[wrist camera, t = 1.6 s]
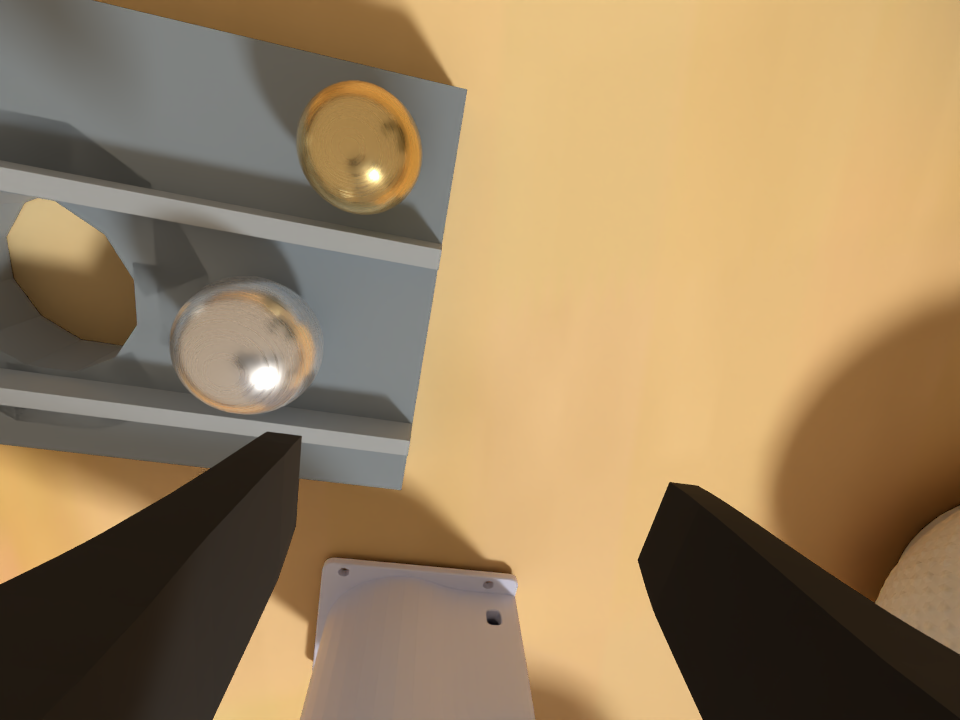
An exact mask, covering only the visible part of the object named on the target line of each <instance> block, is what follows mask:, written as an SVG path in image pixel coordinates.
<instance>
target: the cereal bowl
mask: <svg viewBox="0 0 960 720" xmlns="http://www.w3.org/2000/svg"><path fill="white" fill-rule="evenodd" d="M875 604H877V605H878V606H880V607H882V608H883V609H885V610H886V611H888V612H889V613H891V614H893V615H894V616H896V617H897V618H899V619H901V620H902V621H904V622H906V623H907V624H909V625H911V626H912V627H914V628H915V629H917V630H919V631H921V632H922V633H924V634H926V635H927V636H929V637H931V638H933V639H934V640H936V641H938V642H939V643H941V644H943V645H945V646H946V647H948V648H950V649H951V650H953V651H955V652H957V653H958V654H960V505H959V506H957V507H955V508H953V509H951V510H949V511H947V512H945V513H944V514H942V515H940V516H939V517H937V518H936V519H935V520H933V521H932V522H931V523H929V524H928V525H927V526H926V527H924V528H923V529H922V530H921V531H920V532H919V533H918V534H917V535H916V536H915V537H914V538H913V539H912V541H911V542H910V543H909V545H908V546H907V547H906V549H905V550H904V552H903V554H902V555H901V557H900V560H899V562H898V564H897V565H896V566H895V567H894V568H893V570H892V571H891V572H890V575H889V576H888V578H887V579H886V580H885V583H884V585H883V587H882V588H881V590H880V593H879V597H878V598H877V600H876V602H875Z"/></svg>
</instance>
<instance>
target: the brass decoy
mask: <svg viewBox="0 0 960 720" xmlns="http://www.w3.org/2000/svg"><path fill="white" fill-rule="evenodd" d="M296 149H297V155H298V159H299V163H300V166H301V168H302V171H303V173H304V175H305V177H306V179H307V180H308V182H309V183H310V185H311V186H312V187H313V189H314V190H315V191H316V192H317V193H318V194H319V195H320V196H321V197H322V198H323V199H324V200H326V201H327V202H329V203H330V204H331V205H333V206H335V207H337V208H338V209H341V210H343V211H346V212H349V213H353V214H360V215H371V214H377V213H381V212H385V211H387V210H389V209H392V208H393V207H395V206H397V205H398V204H400V203H401V202H402V201H403V200H404V199H405V198H406V197H407V196H408V195H409V194H410V192H411V191H412V189H413V188H414V186H415V184H416V182H417V180H418V177H419V174H420V171H421V166H422V156H423V155H422V143H421V137H420V134H419V130H418V128H417V125H416V123H415V121H414V119H413V117H412V116H411V114H410V112H409V111H408V110H407V108H406V107H405V106H404V105H403V104H402V102H401V101H400V100H399V99H397V98H396V97H395V96H394V95H393V94H391V93H390V92H388V91H387V90H385V89H384V88H382V87H379V86H377V85H375V84H372V83H369V82H364V81H358V80H349V81H341V82H338V83H335V84H332V85H330V86H327V87H325V88H324V89H322V90H321V91H319V92H318V93H317V94H316V95H315V96H314V97H312V98H311V100H310V101H309V102H308V104H307V105H306V107H305V108H304V110H303V112H302V114H301V117H300V119H299V123H298V127H297V133H296Z"/></svg>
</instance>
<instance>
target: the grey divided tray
mask: <svg viewBox="0 0 960 720" xmlns="http://www.w3.org/2000/svg"><path fill="white" fill-rule="evenodd" d="M349 80H358V81H364V82H369V83H372V84H375V85H377V86H379V87H382V88H384V89H385V90H387V91H388V92H390V93H391V94H393V95H394V96H395V97H396V98H397V99H399V100H400V101H401V102H402V104H403V105H404V106H405V107H406V108H407V110H408V111H409V112H410V114H411V116H412V117H413V119H414V121H415V123H416V125H417V128H418V130H419V134H420V137H421V143H422V155H423V156H422V166H421V171H420V174H419V177H418V180H417V182H416V184H415V186H414V188H413V189H412V191H411V192H410V194H409V195H408V196H407V197H406V198H405V199H404V200H403V201H402V202H401V203H400V204H398V205H397V206H395V207H393V208H392V209H389V210H387V211H385V212H381V213H377V214H371V215H360V214H353V213H349V212H346V211H343V210H341V209H338V208H337V207H335V206H333V205H331V204H330V203H329V202H327V201H326V200H324V199H323V198H322V197H321V196H320V195H319V194H318V193H317V192H316V191H315V190H314V189H313V187H312V186H311V185H310V183H309V182H308V180H307V179H306V177H305V175H304V173H303V171H302V168H301V166H300V163H299V159H298V155H297V149H296V133H297V127H298V123H299V119H300V117H301V114H302V112H303V110H304V108H305V107H306V105H307V104H308V102H309V101H310V100H311V98H312V97H314V96H315V95H316V94H317V93H318V92H319V91H321V90H322V89H324V88H325V87H327V86H330V85H332V84H335V83H338V82H341V81H349ZM466 94H467V89H462V88H458V87H454V86H450V85H446V84H441V83H437V82H433V81H429V80H425V79H420V78H416V77H412V76H408V75H404V74H399V73H395V72H391V71H387V70H383V69H379V68H374V67H370V66H366V65H362V64H358V63H353V62H349V61H345V60H341V59H337V58H332V57H328V56H324V55H320V54H316V53H311V52H307V51H303V50H299V49H295V48H290V47H286V46H282V45H278V44H274V43H269V42H265V41H261V40H257V39H253V38H248V37H244V36H240V35H236V34H232V33H227V32H223V31H219V30H215V29H211V28H207V27H202V26H198V25H194V24H190V23H186V22H181V21H177V20H173V19H169V18H165V17H160V16H156V15H152V14H148V13H144V12H139V11H135V10H131V9H127V8H123V7H118V6H114V5H110V4H106V3H102V2H97V1H93V0H0V444H3V445H12V446H21V447H30V448H38V449H47V450H56V451H64V452H73V453H82V454H91V455H99V456H108V457H117V458H125V459H134V460H143V461H152V462H160V463H169V464H178V465H187V466H195V467H204V468H212V467H213V466H215V465H216V464H218V463H219V462H221V461H222V460H224V459H225V458H227V457H228V456H230V455H231V454H233V453H234V452H236V451H237V450H239V449H240V448H242V447H244V446H245V445H247V444H248V443H250V442H251V441H253V440H254V439H256V438H257V437H259V436H260V435H262V434H264V433H265V432H267V431H268V432H276V433H284V434H292V435H300V436H302V442H301V457H300V472H299V478H300V479H309V480H317V481H326V482H335V483H343V484H352V485H361V486H370V487H378V488H387V489H396V490H401V489H402V483H403V476H404V470H405V464H406V458H407V456H408V450H409V444H410V437H411V429H412V422H413V416H414V410H415V404H416V398H417V391H418V385H419V379H420V373H421V367H422V361H423V355H424V349H425V343H426V337H427V331H428V325H429V319H430V312H431V306H432V300H433V294H434V288H435V282H436V276H437V270H438V269H439V263H440V257H441V251H442V240H443V233H444V227H445V221H446V215H447V209H448V203H449V197H450V191H451V185H452V179H453V173H454V167H455V161H456V154H457V148H458V142H459V136H460V130H461V124H462V118H463V112H464V106H465V100H466ZM36 198H42V199H48V200H53V201H56V202H57V203H59V204H60V205H62V206H63V207H65V208H66V209H68V210H69V211H71V212H72V213H74V214H75V215H77V216H78V217H79V218H81V219H82V220H84V221H85V222H87V223H88V224H90V225H91V226H93V227H94V228H96V229H97V230H99V231H100V232H102V233H103V234H105V236H106V237H107V239H108V241H109V242H110V244H111V245H112V247H113V248H114V250H115V251H116V253H117V255H118V256H119V258H120V259H121V261H122V262H123V264H124V265H125V267H126V269H127V270H128V272H129V273H130V275H131V276H132V278H133V279H134V287H135V301H136V315H137V326H136V327H135V329H134V330H133V332H132V333H131V335H130V336H129V338H128V339H127V341H126V342H125V344H124V345H123V346H121V345H114V344H108V343H101V342H94V341H87V340H81V339H79V338H78V337H76V336H74V335H73V334H71V333H69V332H68V331H66V330H64V329H63V328H61V327H59V326H58V325H56V324H54V323H53V322H51V321H49V320H48V319H46V318H44V317H43V316H41V315H40V314H39V312H38V311H37V310H36V308H35V307H34V305H33V304H32V303H31V301H30V300H29V299H28V297H27V296H26V295H25V293H24V292H23V291H22V289H21V288H20V287H19V285H18V284H17V283H16V281H15V280H14V279H13V274H12V268H11V262H10V256H9V249H8V243H7V237H6V236H7V235H8V233H9V231H10V229H11V227H12V225H13V223H14V222H15V220H16V218H17V216H18V214H19V212H20V210H21V208H22V207H23V205H24V203H25V202H28V201H30V200H33V199H36ZM236 276H255V277H262V278H266V279H270V280H272V281H275V282H278V283H280V284H282V285H284V286H286V287H288V288H290V289H291V290H293V291H294V292H296V293H297V294H298V295H299V296H301V297H302V298H303V299H304V300H305V301H306V302H307V303H308V305H309V306H310V307H311V309H312V310H313V312H314V313H315V315H316V317H317V319H318V322H319V324H320V327H321V330H322V334H323V341H324V350H323V358H322V362H321V366H320V369H319V371H318V373H317V375H316V377H315V379H314V380H313V382H312V383H311V385H310V386H309V387H308V388H307V389H306V390H305V392H304V393H303V394H302V395H300V396H299V397H298V398H297V399H295V400H294V401H292V402H291V403H289V404H287V405H286V406H283V407H281V408H279V409H276V410H273V411H270V412H266V413H260V414H248V415H244V414H234V413H229V412H225V411H222V410H219V409H216V408H214V407H211V406H209V405H207V404H205V403H204V402H202V401H201V400H199V399H198V398H196V397H195V396H194V395H193V394H192V393H191V392H190V391H189V390H188V389H187V388H186V387H185V386H184V385H183V383H182V382H181V381H180V379H179V377H178V375H177V374H176V372H175V369H174V367H173V364H172V361H171V357H170V351H169V340H170V332H171V327H172V325H173V322H174V319H175V317H176V315H177V313H178V311H179V310H180V308H181V307H182V306H183V305H184V303H185V302H186V301H187V300H188V299H189V298H190V297H191V296H192V295H193V294H194V293H195V292H197V291H198V290H200V289H202V288H203V287H205V286H206V285H208V284H211V283H213V282H215V281H218V280H222V279H225V278H229V277H236Z"/></svg>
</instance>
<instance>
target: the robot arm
mask: <svg viewBox="0 0 960 720" xmlns="http://www.w3.org/2000/svg"><path fill="white" fill-rule="evenodd" d="M301 442H302V436H300V435H292V434H284V433H276V432H268V431H267V432H265V433H264V434H262V435H260V436H259V437H257V438H256V439H254V440H253V441H251V442H250V443H248V444H247V445H245V446H244V447H242V448H240V449H239V450H237V451H236V452H234V453H233V454H231V455H230V456H228V457H227V458H225V459H224V460H222V461H221V462H219V463H218V464H216V465H215V466H213V467H212V468H210V469H209V470H207V471H206V472H204V473H202V474H201V475H199V476H198V477H196V478H195V479H193V480H191V481H190V482H188V483H187V484H185V485H183V486H182V487H180V488H179V489H177V490H176V491H174V492H172V493H171V494H169V495H167V496H166V497H164V498H162V499H160V500H159V501H157V502H155V503H153V504H152V505H150V506H148V507H147V508H145V509H143V510H141V511H140V512H138V513H136V514H134V515H133V516H131V517H129V518H128V519H126V520H124V521H122V522H121V523H119V524H117V525H115V526H114V527H112V528H110V529H108V530H107V531H105V532H103V533H101V534H99V535H98V536H96V537H94V538H92V539H90V540H88V541H86V542H85V543H83V544H81V545H79V546H77V547H75V548H73V549H71V550H69V551H67V552H65V553H63V554H61V555H59V556H58V557H55V558H53V559H51V560H49V561H47V562H45V563H43V564H41V565H39V566H37V567H35V568H33V569H31V570H29V571H27V572H25V573H23V574H21V575H19V576H17V577H15V578H13V579H11V580H8V581H6V582H4V583H2V584H0V720H213V718H214V715H215V713H216V711H217V709H218V707H219V705H220V703H221V701H222V698H223V696H224V694H225V692H226V690H227V688H228V686H229V683H230V681H231V679H232V677H233V675H234V673H235V671H236V668H237V666H238V664H239V662H240V660H241V658H242V656H243V654H244V651H245V649H246V647H247V645H248V643H249V641H250V639H251V636H252V634H253V632H254V630H255V628H256V626H257V624H258V621H259V619H260V617H261V615H262V613H263V611H264V608H265V606H266V604H267V602H268V600H269V598H270V596H271V593H272V591H273V589H274V587H275V585H276V582H277V580H278V578H279V575H280V572H281V569H282V566H283V563H284V560H285V557H286V554H287V551H288V548H289V545H290V542H291V539H292V536H293V533H294V530H295V527H296V516H297V501H298V487H299V472H300V457H301ZM638 563H639V566H640V569H641V573H642V576H643V580H644V583H645V587H646V590H647V593H648V596H649V599H650V602H651V605H652V608H653V611H654V613H655V616H656V618H657V620H658V623H659V625H660V627H661V629H662V632H663V634H664V636H665V638H666V640H667V643H668V645H669V647H670V649H671V652H672V654H673V656H674V658H675V660H676V663H677V665H678V667H679V669H680V671H681V673H682V676H683V678H684V680H685V682H686V684H687V686H688V689H689V691H690V693H691V695H692V697H693V699H694V702H695V704H696V706H697V708H698V710H699V713H700V715H701V717H702V719H703V720H960V654H958V653H957V652H955V651H953V650H951V649H950V648H948V647H946V646H945V645H943V644H941V643H939V642H938V641H936V640H934V639H933V638H931V637H929V636H927V635H926V634H924V633H922V632H921V631H919V630H917V629H915V628H914V627H912V626H911V625H909V624H907V623H906V622H904V621H902V620H901V619H899V618H897V617H896V616H894V615H893V614H891V613H889V612H888V611H886V610H885V609H883V608H882V607H880V606H878V605H877V604H875V603H874V602H872V601H871V600H869V599H868V598H866V597H864V596H863V595H861V594H860V593H858V592H857V591H855V590H854V589H852V588H851V587H849V586H847V585H846V584H844V583H843V582H841V581H840V580H838V579H837V578H835V577H834V576H832V575H831V574H829V573H828V572H826V571H825V570H823V569H822V568H820V567H819V566H817V565H816V564H814V563H813V562H812V561H810V560H809V559H807V558H806V557H804V556H803V555H801V554H800V553H798V552H797V551H796V550H794V549H793V548H791V547H790V546H788V545H787V544H785V543H784V542H783V541H781V540H780V539H778V538H777V537H775V536H774V535H772V534H771V533H770V532H768V531H767V530H765V529H764V528H762V527H761V526H759V525H758V524H757V523H755V522H754V521H752V520H751V519H749V518H748V517H746V516H745V515H743V514H742V513H741V512H739V511H738V510H736V509H735V508H733V507H732V506H730V505H729V504H727V503H726V502H724V501H722V500H721V499H719V498H718V497H716V496H714V495H713V494H711V493H710V492H708V491H706V490H704V489H702V488H701V487H699V486H696V485H688V484H680V483H672V482H669V485H668V487H667V490H666V492H665V495H664V497H663V499H662V502H661V504H660V507H659V509H658V512H657V514H656V517H655V519H654V521H653V524H652V526H651V529H650V531H649V534H648V536H647V539H646V541H645V543H644V546H643V548H642V551H641V553H640V556H639V558H638ZM341 568H346V569H348V570H343V569H341ZM486 581H491V582H488V583H486ZM517 587H518V583H517V579H516V577H515V576H514V575H512V574H507V573H496V572H486V571H475V570H464V569H453V568H442V567H432V566H421V565H410V564H399V563H389V562H378V561H367V560H356V559H346V558H329V559H327V560H326V561H325V563H324V565H323V569H322V577H321V587H320V597H319V607H318V617H317V627H316V637H315V648H314V658H313V668H312V675H311V679H310V683H309V687H308V691H307V694H306V698H305V702H304V706H303V710H302V714H301V717H300V720H535V714H534V707H533V701H532V695H531V689H530V683H529V677H528V671H527V665H526V659H525V653H524V648H523V642H522V636H521V630H520V624H519V618H518V612H517V606H516V600H515V594H516V591H517Z"/></svg>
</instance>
